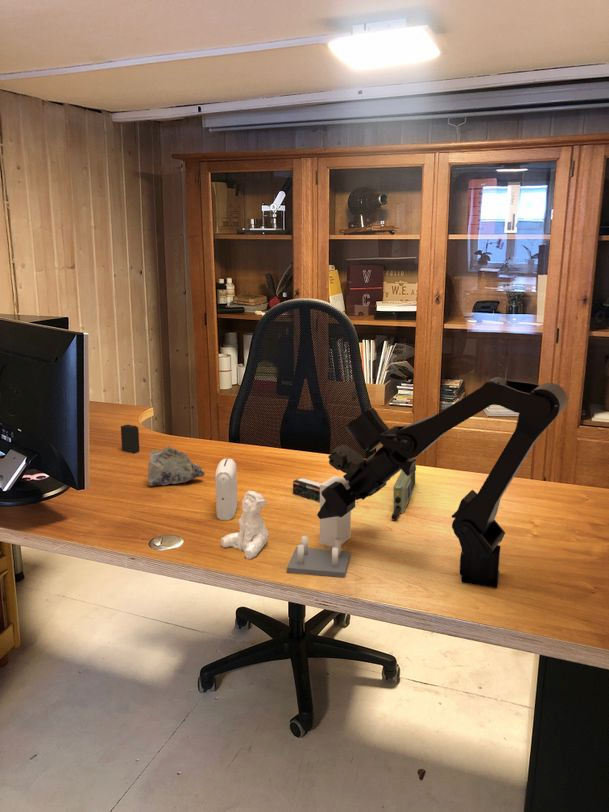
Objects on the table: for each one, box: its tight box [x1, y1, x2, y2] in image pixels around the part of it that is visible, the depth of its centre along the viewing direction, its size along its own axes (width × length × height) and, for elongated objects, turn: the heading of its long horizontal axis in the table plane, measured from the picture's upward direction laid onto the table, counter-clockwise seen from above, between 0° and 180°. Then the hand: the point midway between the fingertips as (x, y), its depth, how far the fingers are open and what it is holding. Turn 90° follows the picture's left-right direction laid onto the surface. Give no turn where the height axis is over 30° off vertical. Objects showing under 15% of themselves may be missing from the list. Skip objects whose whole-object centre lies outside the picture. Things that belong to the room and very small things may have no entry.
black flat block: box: [292, 477, 323, 503], centre depth 164 cm, size 14×25×4 cm, turn 49°
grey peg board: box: [286, 535, 352, 579], centre depth 129 cm, size 11×9×4 cm
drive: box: [319, 475, 352, 548], centre depth 138 cm, size 4×6×13 cm, turn 148°
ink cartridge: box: [120, 424, 141, 454], centre depth 199 cm, size 5×2×8 cm, turn 61°
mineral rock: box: [147, 445, 206, 487], centre depth 172 cm, size 13×11×10 cm
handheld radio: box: [390, 469, 416, 521], centre depth 160 cm, size 7×3×25 cm
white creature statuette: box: [220, 490, 270, 560], centre depth 136 cm, size 10×9×12 cm
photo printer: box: [214, 457, 238, 521], centre depth 153 cm, size 10×4×12 cm, turn 0°
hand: (329, 509), depth 139 cm, fingers open, 9 cm apart
